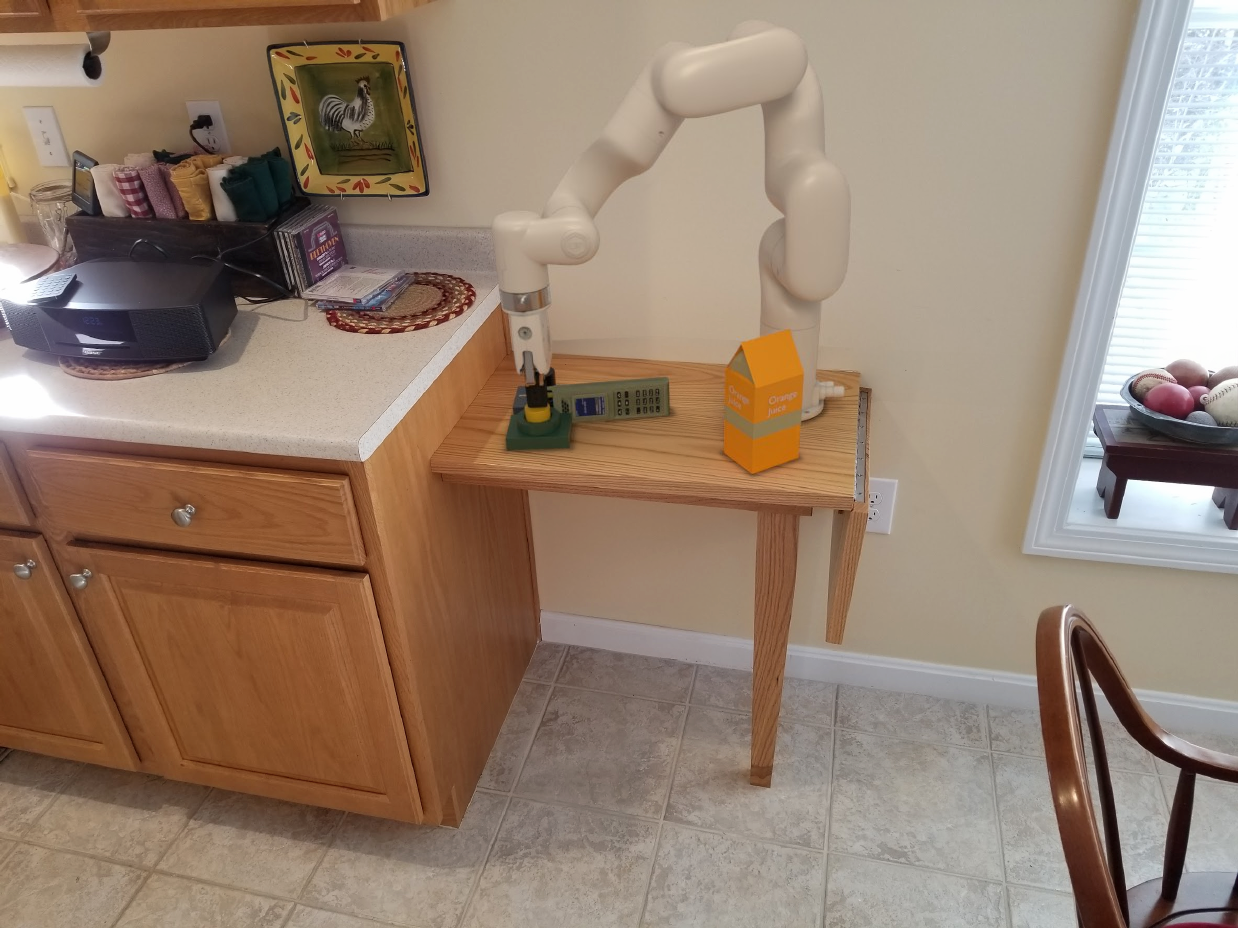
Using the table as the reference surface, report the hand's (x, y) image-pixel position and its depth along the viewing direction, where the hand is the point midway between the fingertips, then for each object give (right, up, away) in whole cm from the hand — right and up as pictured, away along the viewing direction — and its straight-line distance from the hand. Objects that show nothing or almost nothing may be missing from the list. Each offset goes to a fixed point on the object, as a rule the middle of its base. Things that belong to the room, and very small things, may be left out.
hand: (538, 404), depth 145 cm
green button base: (0, -5, +3) cm, 6 cm away
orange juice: (+35, -8, -5) cm, 36 cm away
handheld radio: (+9, -2, +8) cm, 12 cm away
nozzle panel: (0, 0, +12) cm, 12 cm away
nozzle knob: (0, +2, +10) cm, 10 cm away
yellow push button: (0, -2, +1) cm, 2 cm away
